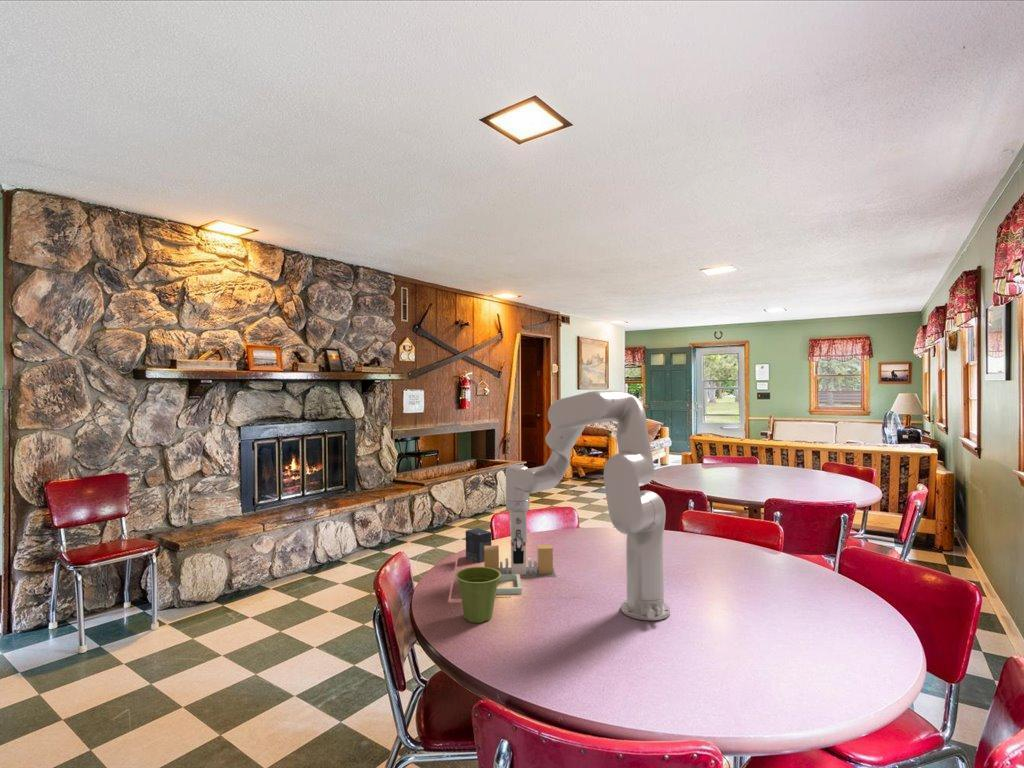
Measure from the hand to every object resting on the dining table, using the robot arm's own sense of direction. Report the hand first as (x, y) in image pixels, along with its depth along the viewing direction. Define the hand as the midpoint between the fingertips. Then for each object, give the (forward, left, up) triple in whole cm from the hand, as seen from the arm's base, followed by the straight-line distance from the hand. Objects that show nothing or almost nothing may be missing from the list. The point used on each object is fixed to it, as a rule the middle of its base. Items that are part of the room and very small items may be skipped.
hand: (517, 558), depth 170 cm
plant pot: (-31, +12, -6) cm, 34 cm away
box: (+15, +13, -6) cm, 20 cm away
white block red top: (0, 0, -4) cm, 4 cm away
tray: (-12, +6, -5) cm, 14 cm away
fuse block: (0, 0, -5) cm, 5 cm away
